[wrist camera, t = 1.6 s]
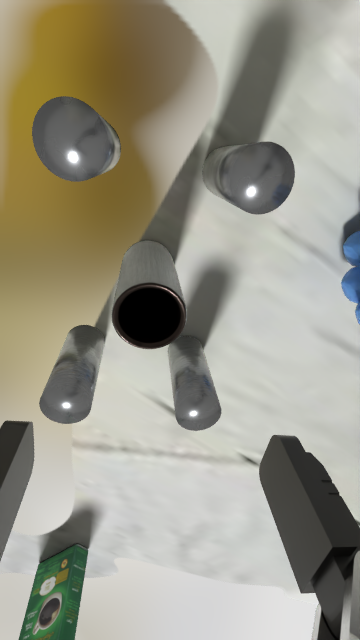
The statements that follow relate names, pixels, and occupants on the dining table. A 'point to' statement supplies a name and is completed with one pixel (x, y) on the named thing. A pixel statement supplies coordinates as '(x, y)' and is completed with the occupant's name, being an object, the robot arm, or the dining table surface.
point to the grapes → (352, 271)
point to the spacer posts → (220, 179)
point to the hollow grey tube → (148, 297)
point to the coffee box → (56, 597)
